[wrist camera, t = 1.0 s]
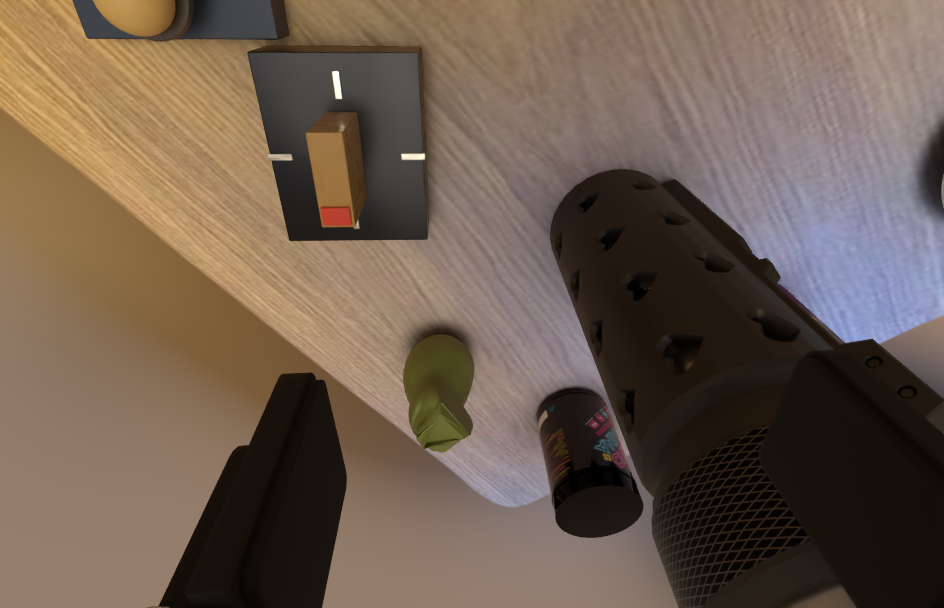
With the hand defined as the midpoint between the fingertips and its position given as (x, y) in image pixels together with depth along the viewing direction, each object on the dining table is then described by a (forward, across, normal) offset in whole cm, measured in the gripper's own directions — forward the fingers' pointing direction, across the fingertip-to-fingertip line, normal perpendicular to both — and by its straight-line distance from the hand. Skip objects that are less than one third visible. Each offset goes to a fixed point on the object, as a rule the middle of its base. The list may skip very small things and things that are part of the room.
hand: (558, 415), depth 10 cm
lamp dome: (+21, +16, -8) cm, 28 cm away
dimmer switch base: (+25, +8, 0) cm, 26 cm away
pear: (+26, +4, +18) cm, 31 cm away
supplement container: (+26, -8, +26) cm, 38 cm away
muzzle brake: (+25, -10, +7) cm, 28 cm away
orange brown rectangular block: (+22, +8, 0) cm, 24 cm away
